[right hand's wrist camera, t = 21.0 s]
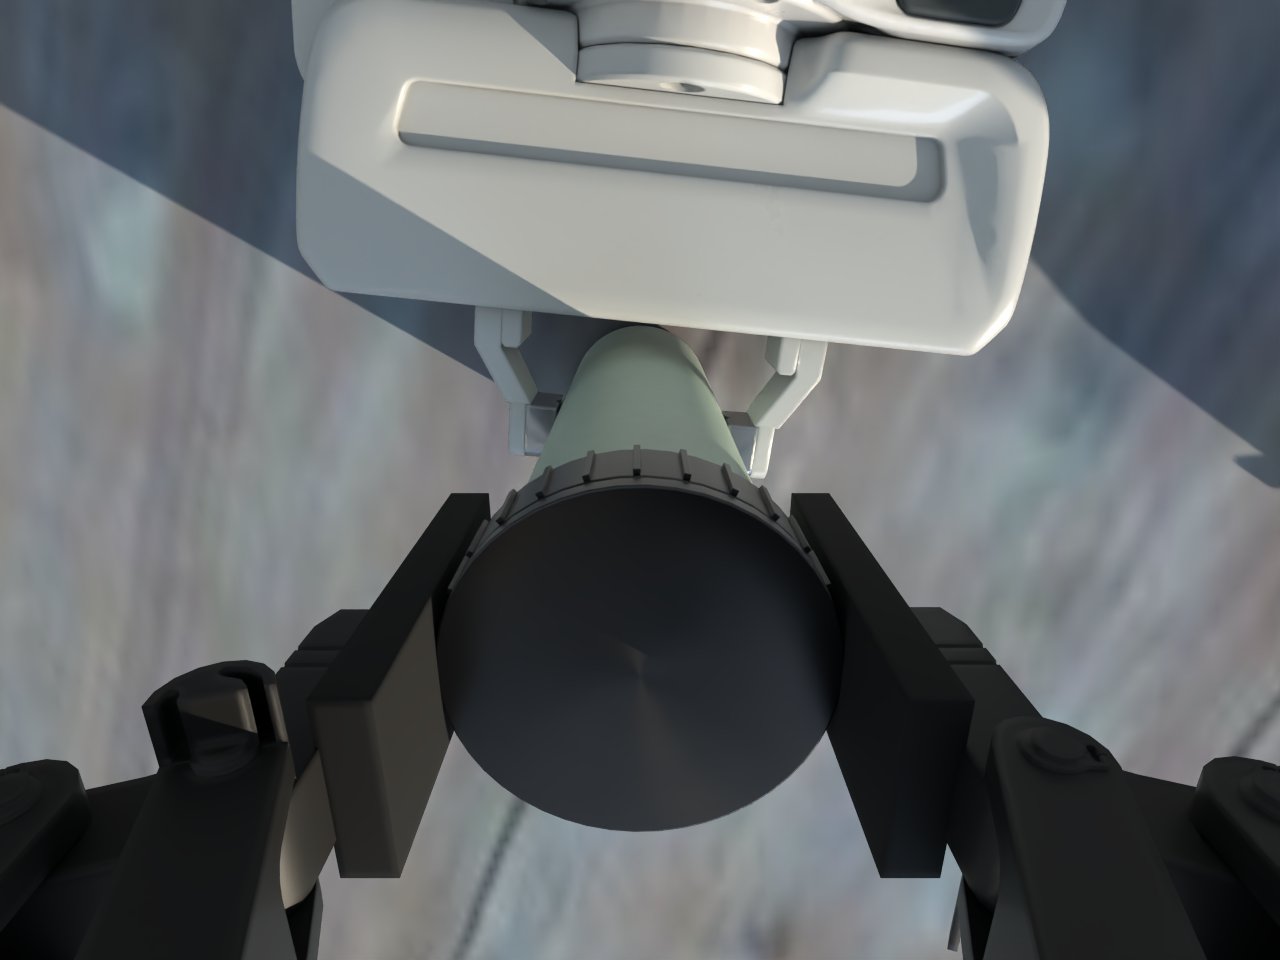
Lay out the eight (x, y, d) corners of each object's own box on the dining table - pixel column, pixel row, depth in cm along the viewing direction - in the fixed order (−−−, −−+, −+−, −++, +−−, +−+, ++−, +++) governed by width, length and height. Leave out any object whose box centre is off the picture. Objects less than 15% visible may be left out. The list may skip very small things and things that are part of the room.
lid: (446, 738, 13) (419, 811, 11) (472, 414, 11) (442, 446, 9) (776, 781, 13) (794, 857, 12) (864, 474, 11) (901, 517, 10)
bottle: (714, 442, 29) (820, 752, 12) (588, 464, 30) (517, 795, 12) (695, 314, 27) (788, 462, 10) (561, 338, 28) (433, 522, 11)
